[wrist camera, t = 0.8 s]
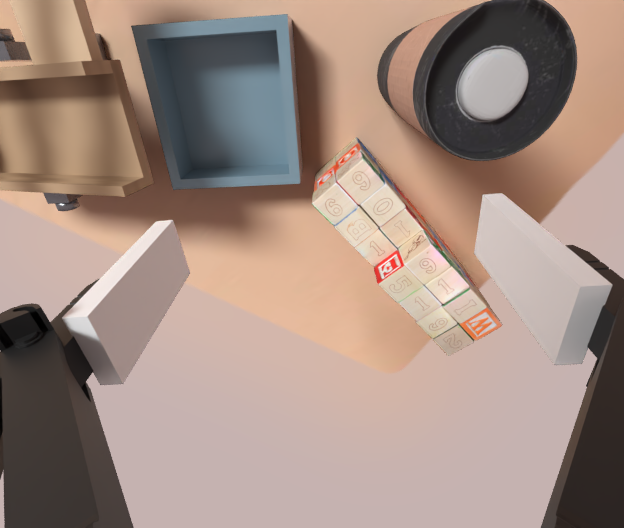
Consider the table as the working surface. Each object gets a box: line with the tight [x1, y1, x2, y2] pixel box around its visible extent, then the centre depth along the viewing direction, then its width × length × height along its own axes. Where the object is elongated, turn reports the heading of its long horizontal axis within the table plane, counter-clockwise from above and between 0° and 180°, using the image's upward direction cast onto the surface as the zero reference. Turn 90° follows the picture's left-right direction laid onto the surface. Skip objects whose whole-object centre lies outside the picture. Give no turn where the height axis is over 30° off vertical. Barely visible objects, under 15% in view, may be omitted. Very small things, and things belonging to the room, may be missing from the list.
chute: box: [0, 0, 154, 197], centre depth 28 cm, size 20×20×6 cm
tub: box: [131, 14, 303, 190], centre depth 35 cm, size 13×14×5 cm
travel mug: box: [377, 0, 577, 161], centre depth 27 cm, size 8×8×20 cm
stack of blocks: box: [312, 137, 502, 356], centre depth 38 cm, size 21×6×12 cm, turn 43°
